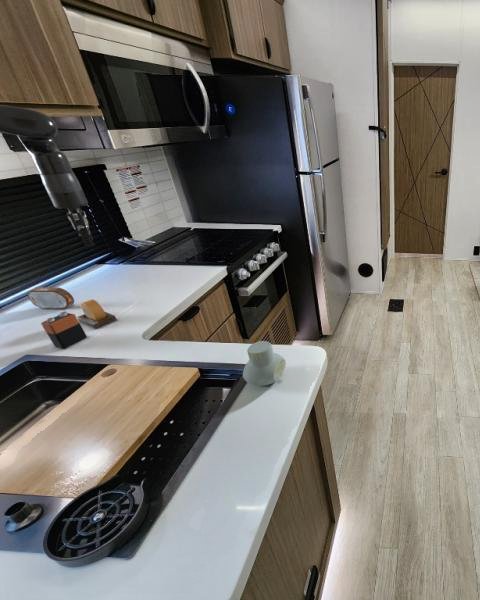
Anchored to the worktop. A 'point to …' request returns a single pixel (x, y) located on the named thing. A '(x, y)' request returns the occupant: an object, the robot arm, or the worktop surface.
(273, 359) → the air freshener
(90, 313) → the tape roll
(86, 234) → the robot arm
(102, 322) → the tape holder
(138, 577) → the worktop surface
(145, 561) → the worktop surface
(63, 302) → the tin
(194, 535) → the worktop surface
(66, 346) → the battery
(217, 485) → the worktop surface
